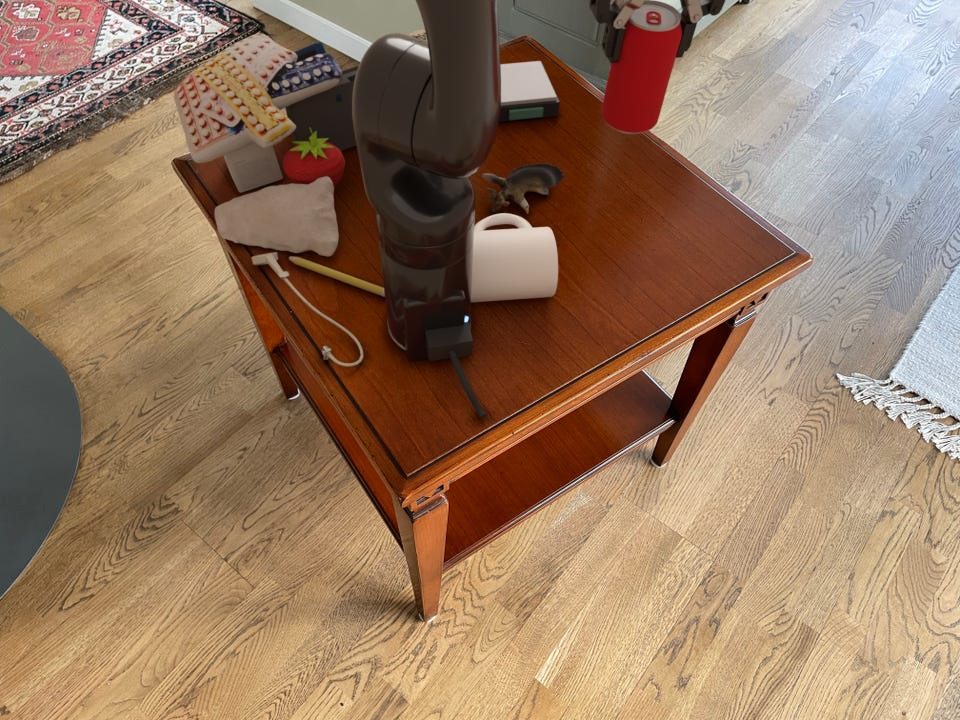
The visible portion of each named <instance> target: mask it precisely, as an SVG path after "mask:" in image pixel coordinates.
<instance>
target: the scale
mask: <svg viewBox="0 0 960 720" xmlns="http://www.w3.org/2000/svg"><path fill="white" fill-rule="evenodd" d="M500 64H501V63H500ZM560 104H561V102H560V100H559V96H558V95H557V93H556V90H555V88H554V86H553V84H552V81H551V80H550V77H549V75H548V73H547V70H546V68H545V66H544V64H543V63H542V61H541V60H536V61H535V60H533V61H523V62H512V63H511V62H510V63H502V64H501V106H500V115H499V122H498V123H504V122H505V123H506V122H515V121H524V120H534V119H536V120H537V119H544V118H553V117H559V110H560Z"/></svg>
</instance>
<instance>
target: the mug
mask: <svg viewBox="0 0 960 720" xmlns="http://www.w3.org/2000/svg"><path fill="white" fill-rule="evenodd" d="M499 225H511V226H512V225H513V226H515V227H517V228H504V229H488V230H487V228H490V227H493V226H499ZM557 247H558V246H557V241H556V238H555V235H554V232H553V230H552V228H551V227H549V226H538V227H533V226H532V225H531V224H530V222H529V221H528V220H527V219H525V218H523V217H522V216H520V215H516V214H512V213H507V212H503V213H496V214H492V215H490V216H486V217H485V218H483V219H481V220H479V221H478V222H476V224H474V241H473V265H472V288H471V303H484V302H494V301H495V302H497V301H498V302H499V301H510V300H511V301H512V300H527V299H539V298H540V299H541V298H542V299H543V298H552V297H554V295H556V292H557V288H558V282H559V256H558V248H557Z"/></svg>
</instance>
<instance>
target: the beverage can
mask: <svg viewBox="0 0 960 720" xmlns="http://www.w3.org/2000/svg"><path fill="white" fill-rule="evenodd" d="M679 12H680V11H679V10H678V9H677V8H675V7H674V6H673V5H670V4H668V3H667V2H664V1H663V2H662V1H659V0H645V2H644V3H643V5H642V6H641V7H640V8H639V9H636V10H635V11H634V12H633V14H632V15H631V17H630V18H629V20H628V21H627V22H626V24H625V25H624V27H625V28H626V30H625V35H624V39H623V44H622V49H621V53H620V58H619V62H618V63H610V66H609V70H608V75H607V80H606V85H605V90H604V95H603V100H602V105H601V111H600V114H601V118H602V120H603V121H604V123H605V124H606V125H607V126H609V128H611V129H613V130H615V131H616V132H619V133H621V134H624V135H625V134H626V135H639V134H642V133H646V132H649V131H650V130H652V129H653V128H655V126H656V125H657V124H658V122H659V118H660V115H661V112H662V108H663V105H664V100H665V97H666V93H667V90H668V87H669V84H670V83H669V82H670V79H671V77H672V72H673V69H674V65H675V61H676V59H677V58H676V55H677V51H678V48H679V44H680V40H681V37H682V29H681V24H680V20H681V16H680V13H679Z"/></svg>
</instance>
